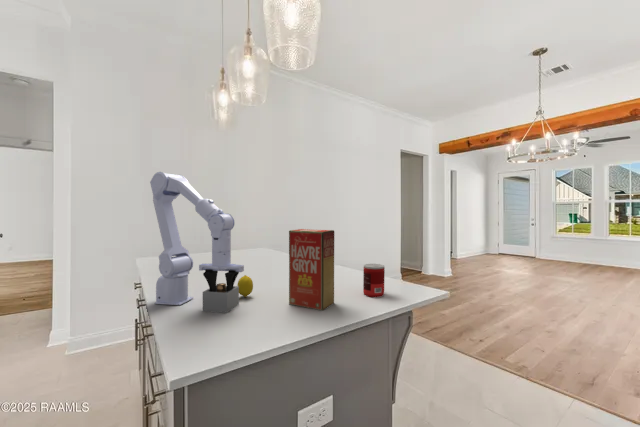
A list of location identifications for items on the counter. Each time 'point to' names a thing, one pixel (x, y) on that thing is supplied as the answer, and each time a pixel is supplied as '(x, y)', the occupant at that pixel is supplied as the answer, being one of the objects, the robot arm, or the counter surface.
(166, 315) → the counter surface
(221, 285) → the plunger
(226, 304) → the open box
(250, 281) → the lemon
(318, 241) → the food packaging
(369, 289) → the canned food
